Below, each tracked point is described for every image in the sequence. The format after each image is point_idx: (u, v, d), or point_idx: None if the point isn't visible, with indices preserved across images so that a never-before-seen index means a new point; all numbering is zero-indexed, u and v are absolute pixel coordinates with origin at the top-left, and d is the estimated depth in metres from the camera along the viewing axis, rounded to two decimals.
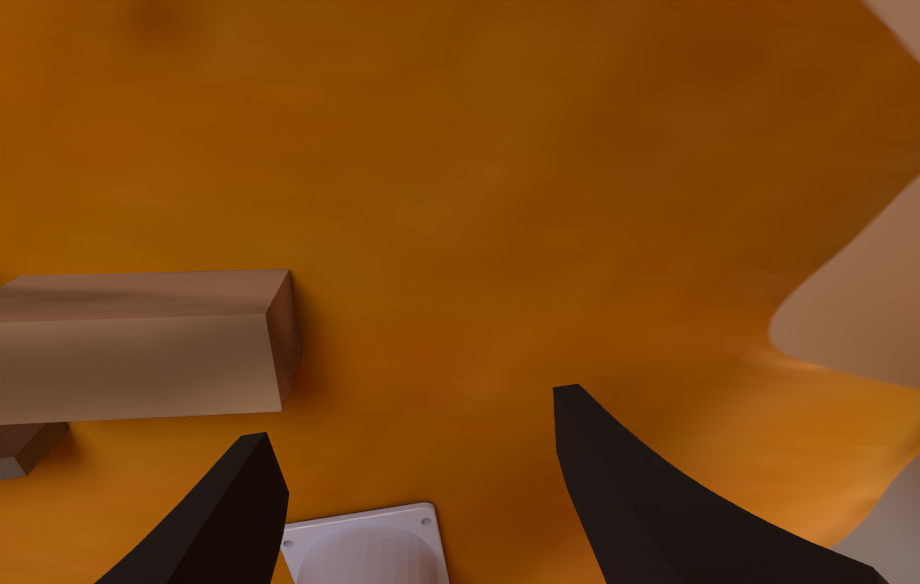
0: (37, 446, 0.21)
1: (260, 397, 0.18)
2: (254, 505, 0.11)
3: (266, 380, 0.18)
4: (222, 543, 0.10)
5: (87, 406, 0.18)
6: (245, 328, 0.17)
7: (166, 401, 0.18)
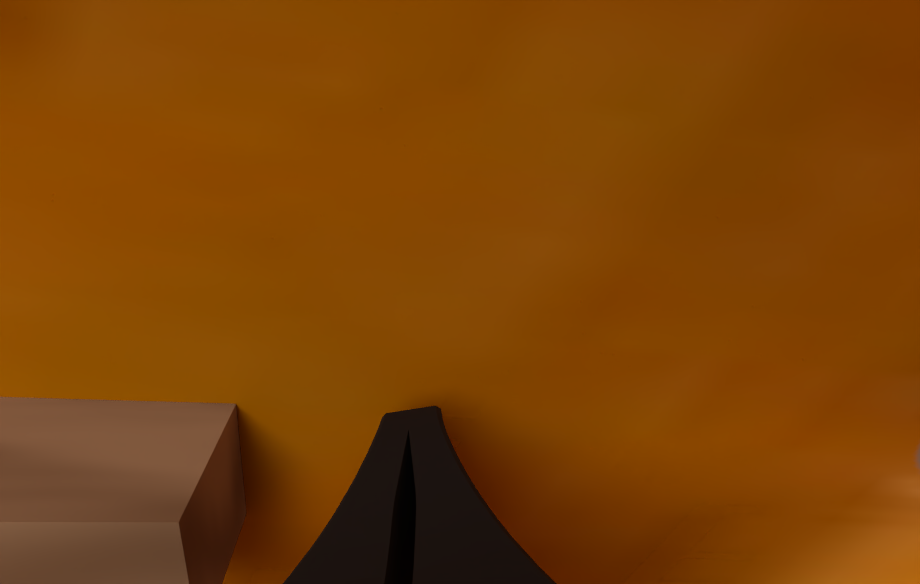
0: None
1: None
2: (413, 480, 0.11)
3: None
4: (403, 514, 0.10)
5: None
6: (144, 540, 0.10)
7: None
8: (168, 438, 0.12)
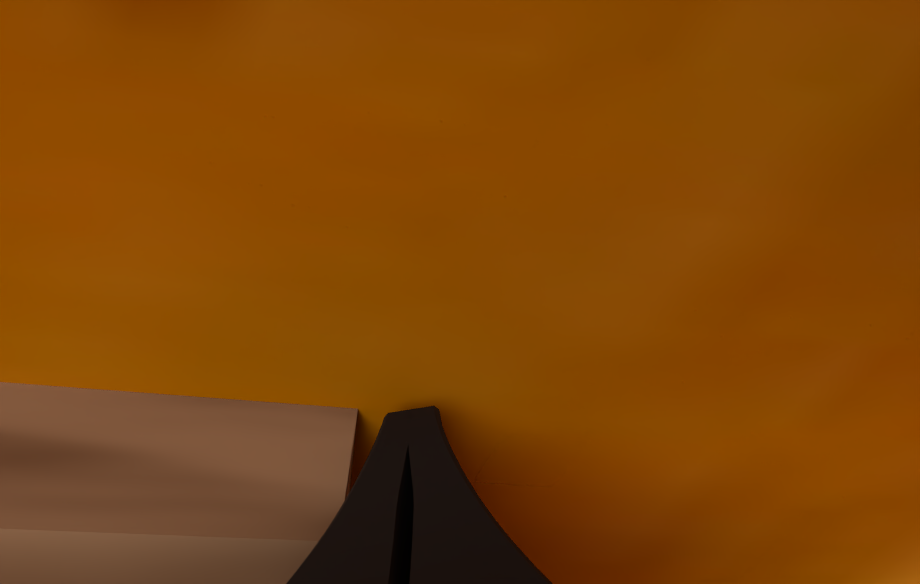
0: None
1: None
2: None
3: None
4: (406, 514, 0.10)
5: None
6: (299, 559, 0.10)
7: None
8: (300, 448, 0.12)
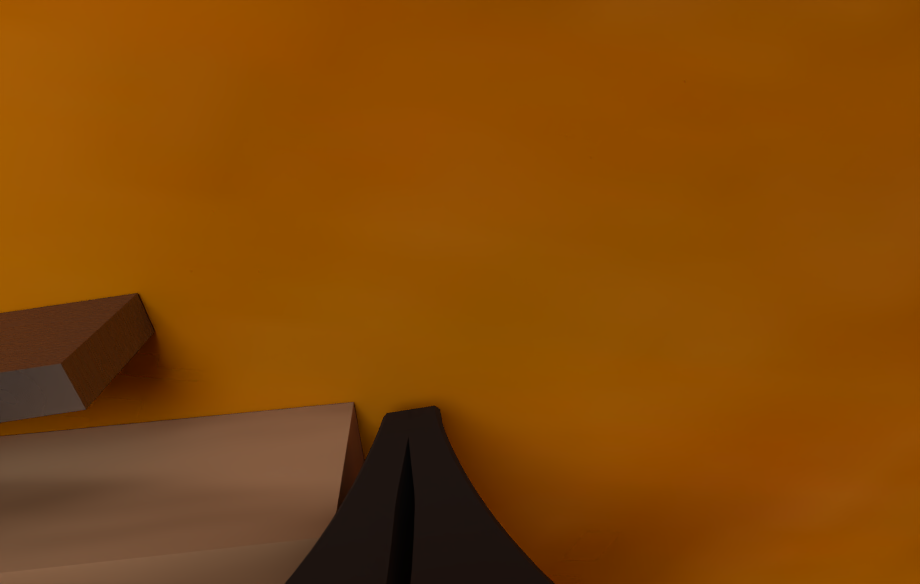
0: None
1: None
2: None
3: None
4: (405, 514, 0.10)
5: None
6: (299, 559, 0.10)
7: None
8: (296, 451, 0.12)
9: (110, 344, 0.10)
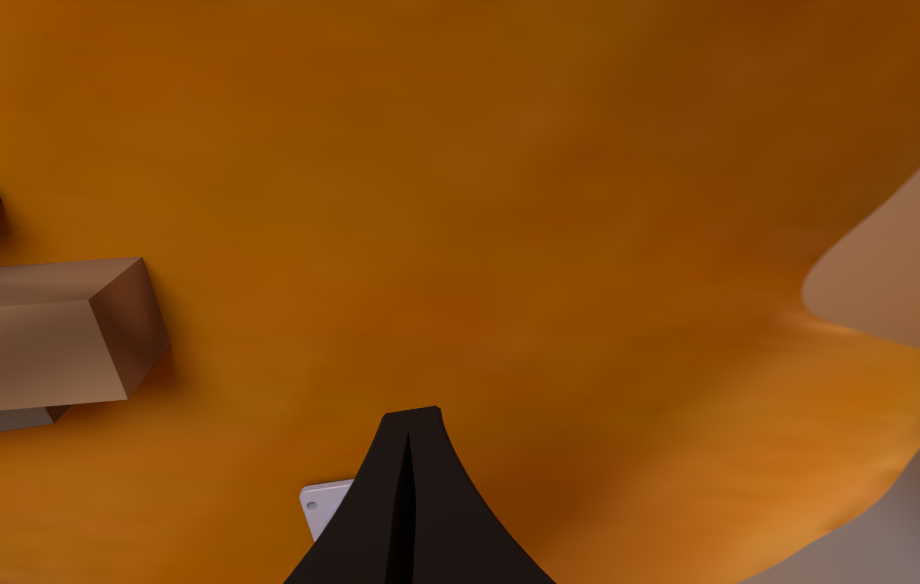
0: None
1: (101, 385, 0.18)
2: (413, 480, 0.11)
3: (104, 368, 0.18)
4: (403, 514, 0.10)
5: None
6: (71, 315, 0.17)
7: (6, 393, 0.18)
8: (92, 273, 0.19)
9: None
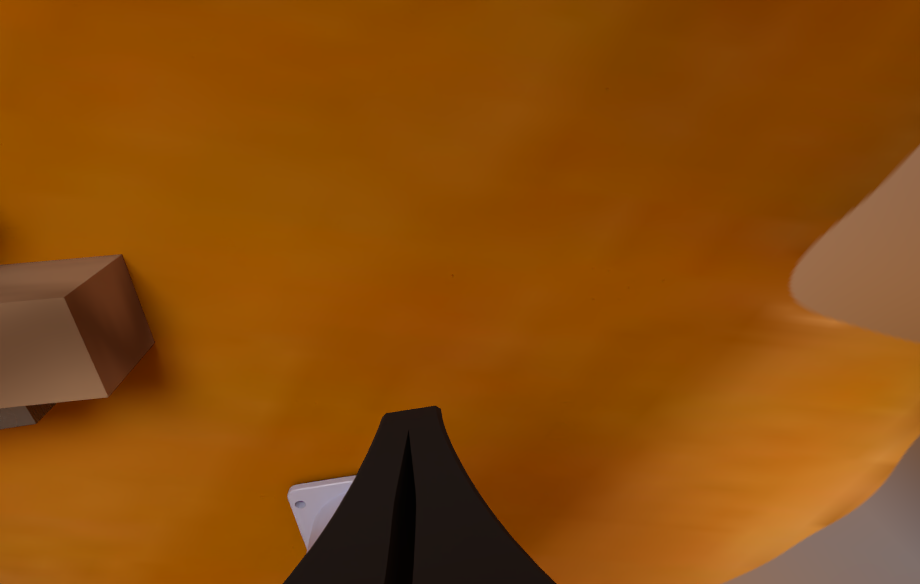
0: None
1: (81, 383, 0.18)
2: (413, 480, 0.11)
3: (83, 366, 0.18)
4: (403, 514, 0.10)
5: None
6: (47, 313, 0.17)
7: None
8: (70, 271, 0.19)
9: None
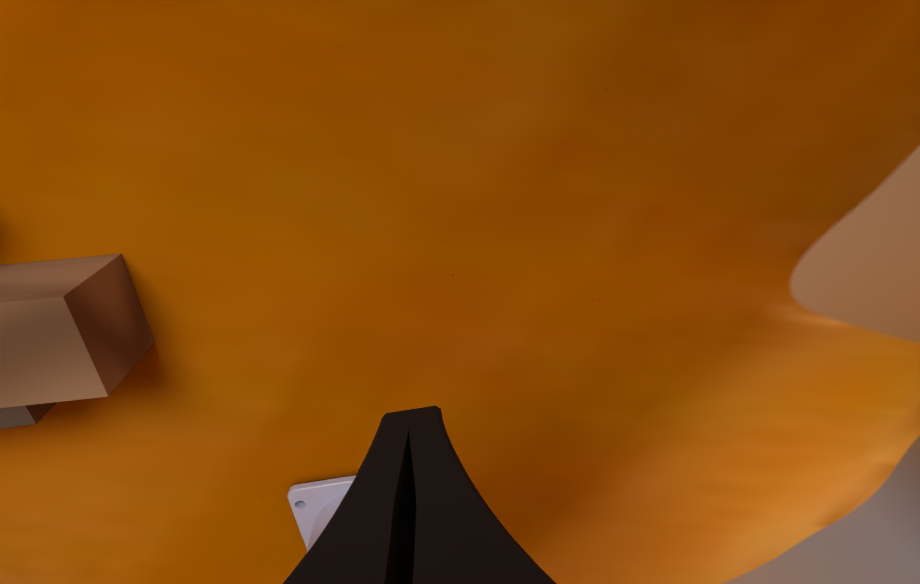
0: None
1: (81, 383, 0.18)
2: (413, 480, 0.11)
3: (83, 365, 0.18)
4: (403, 514, 0.10)
5: None
6: (46, 312, 0.17)
7: None
8: (70, 270, 0.19)
9: None
